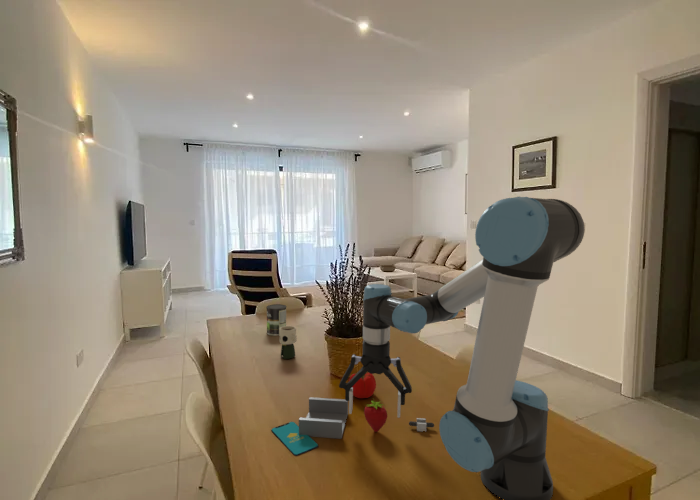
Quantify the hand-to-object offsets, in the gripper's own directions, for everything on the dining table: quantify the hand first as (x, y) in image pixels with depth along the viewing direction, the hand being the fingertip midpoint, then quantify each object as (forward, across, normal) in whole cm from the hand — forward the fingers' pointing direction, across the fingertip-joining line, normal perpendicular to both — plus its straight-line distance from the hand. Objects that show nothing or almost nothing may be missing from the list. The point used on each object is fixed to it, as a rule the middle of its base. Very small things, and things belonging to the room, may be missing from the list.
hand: (374, 413), depth 109 cm
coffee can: (+8, +57, -87) cm, 104 cm away
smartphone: (+6, +22, +6) cm, 23 cm away
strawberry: (+5, 0, 0) cm, 5 cm away
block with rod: (+5, -13, -3) cm, 15 cm away
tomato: (+6, +6, -22) cm, 23 cm away
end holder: (+5, +15, -2) cm, 16 cm away
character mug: (+7, +41, -53) cm, 67 cm away
